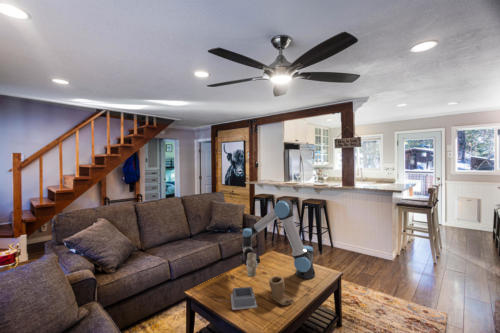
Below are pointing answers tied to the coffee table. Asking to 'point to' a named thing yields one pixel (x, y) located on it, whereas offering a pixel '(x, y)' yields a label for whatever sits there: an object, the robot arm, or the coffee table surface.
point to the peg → (251, 264)
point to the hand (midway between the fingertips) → (252, 266)
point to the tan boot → (279, 291)
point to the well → (243, 298)
